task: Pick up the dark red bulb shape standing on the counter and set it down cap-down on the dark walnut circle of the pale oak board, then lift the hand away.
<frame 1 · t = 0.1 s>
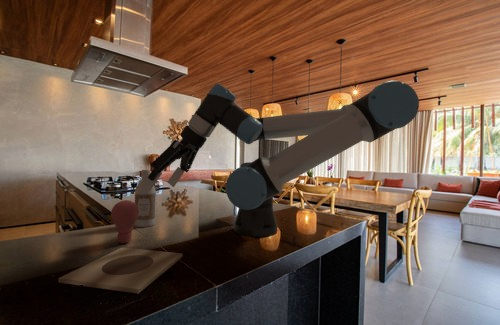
hand: (159, 186, 76), 15 cm above the kitchen island, tool tilted 35°, fingers open, 13 cm apart
seat board: (128, 268, 53), on the kitchen island
bath foam: (144, 225, 88), on the kitchen island
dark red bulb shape: (124, 243, 69), on the kitchen island
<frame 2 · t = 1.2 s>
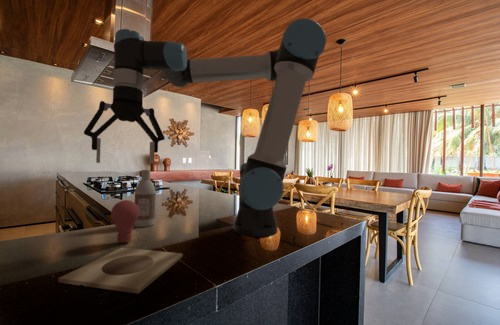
hand: (126, 163, 69), 23 cm above the kitchen island, tool pointing down, fingers open, 13 cm apart
nothing on the kitchen island moved.
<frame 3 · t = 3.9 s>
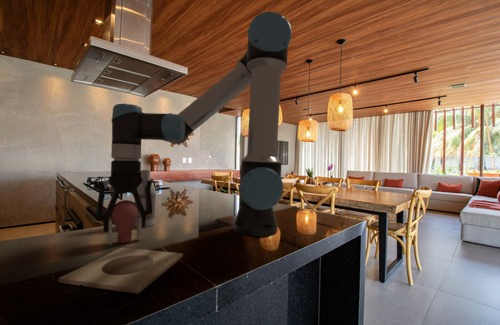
hand: (124, 240, 69), 1 cm above the kitchen island, tool pointing down, fingers closed on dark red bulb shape, 7 cm apart
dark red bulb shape: (124, 243, 69), on the kitchen island, touching gripper
everything else where it was.
when the fingers open (2 cm above the kitchen island, at t = 11.6 s): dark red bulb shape stays where it is, resting on seat board.
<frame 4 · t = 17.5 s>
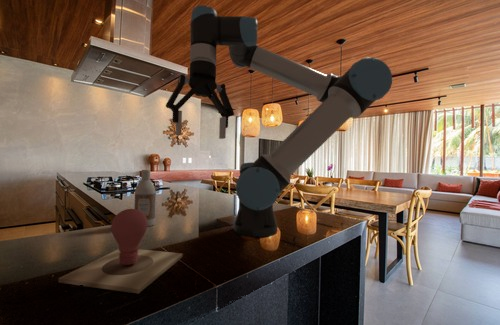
hand: (201, 136, 71), 31 cm above the kitchen island, tool pointing down, fingers open, 13 cm apart
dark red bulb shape: (128, 264, 53), point 1 cm above the kitchen island, touching seat board
everything else where it was.
at the end: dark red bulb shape 0.1 cm from the seat board (horizontally); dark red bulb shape tilted 0°; the gripper is holding nothing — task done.
